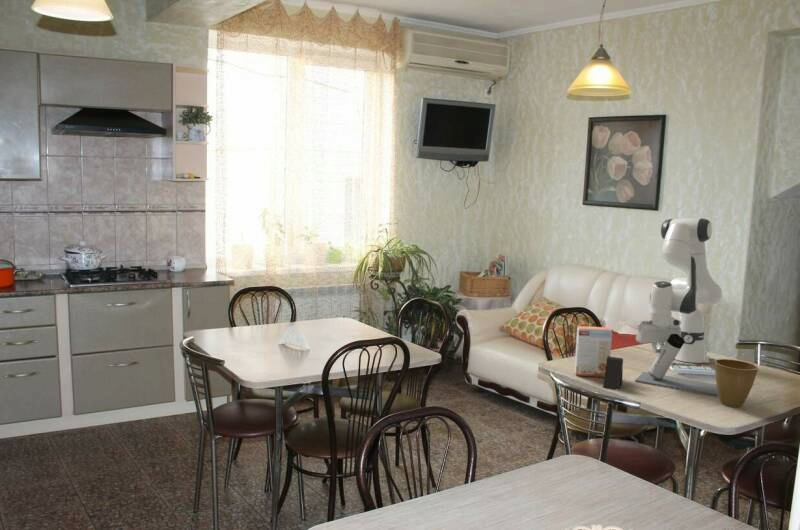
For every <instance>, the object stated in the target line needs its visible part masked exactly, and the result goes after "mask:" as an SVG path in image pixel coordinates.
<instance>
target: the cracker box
mask: <svg viewBox="0 0 800 530" xmlns="http://www.w3.org/2000/svg"><path fill="white" fill-rule="evenodd" d="M576 327H577V328H576V339H575V354H574V355H575V358H574V371H573V373H574V374H575V376H578V377H580V376H581V377H594V378H595V377H596V378H604V377H605V370H606V363H607V357H608V356H610V357H611V354H612V353H611V351H612V338H613V330H612V328H611V327H605V326H604V327H603V326H600V327H599V326H587V325H586V326H583V325H578V326H576Z"/></svg>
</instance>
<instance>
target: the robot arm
mask: <svg viewBox="0 0 800 530" xmlns="http://www.w3.org/2000/svg"><path fill="white" fill-rule="evenodd" d="M712 233H713V225H712V222H711V221H710V220H709V219H706V218H703V217H702V218H695V217H694V218H693V217H692V218H691V217H685V218H684V217H683V218H675V219H673V218H670V219H665V220H664V221H663V222H662V223H661V226H660V235H661V238H662V239H663V242H662V243H663V244H662V252H661V254H662V257H663V259H664V260H665V261H666V262H667V263H668V264H669V265H670V266H672V267H675V268H678V269H680V270H681V271H683V272H684V273H685V277H674V278H673V279H672V280H671V281H670V282H668V281H656V282H654V283H653V285H652V288H651V292H650V294H649V304H650V308H649V311H648V320H641V321H640V322H639V323H638V327H637V330H636V335H635V340H636V342H638V344H639V343H640V344H650V345H651V348H652V353H653V354H657V353H658V354H659V353H660V351H661V349H662V348H663V346H664V344H665V343H666V341H667V340H668V338H669V336H670V335H671V334H678V335H679V336H680V337H681V338H682V339H683V340H684V344H683V346H682V347H681V349H680V351H679V352H678V354H677V356H676V357H675V359H674V360H675V361H680V362H684V363H685V362H686V363H692V364H702V363H705V364H706V363H707V364H709V363H710V358H709V356H708V354H707V351H706V350H707V349H706V348H707V344H706V343H705V341H704V340H705V331H704V329H705V314H704V312H702V311H701V310H700V309H699V307H698V306H699V304H700V305H716V304H718V303H719V301H720V300H721V298H722V295H723V291H722V288H721V286H720V285H719V284H718V283H717V282H716V281H714V279H713V278H712V276H711V274H710V273H709V272H710V271H709V269H708V266H707V265H708V264H707V254H706V243H705V242H707V241H708V240H710V239H711V237H712ZM672 312H677V313H678V314H679V315H678V316H679V319H676V318H674V317H672ZM657 345H658V346H657Z"/></svg>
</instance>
